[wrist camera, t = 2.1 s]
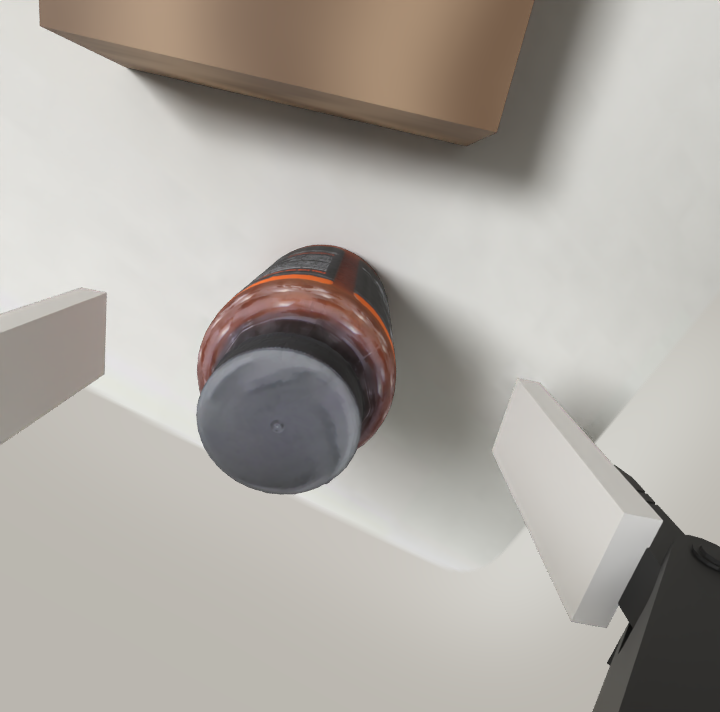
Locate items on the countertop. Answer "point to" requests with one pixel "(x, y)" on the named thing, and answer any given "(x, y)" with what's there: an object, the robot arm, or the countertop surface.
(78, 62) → the countertop surface
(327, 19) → the walnut stand
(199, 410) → the supplement bottle
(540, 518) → the robot arm
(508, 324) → the countertop surface
